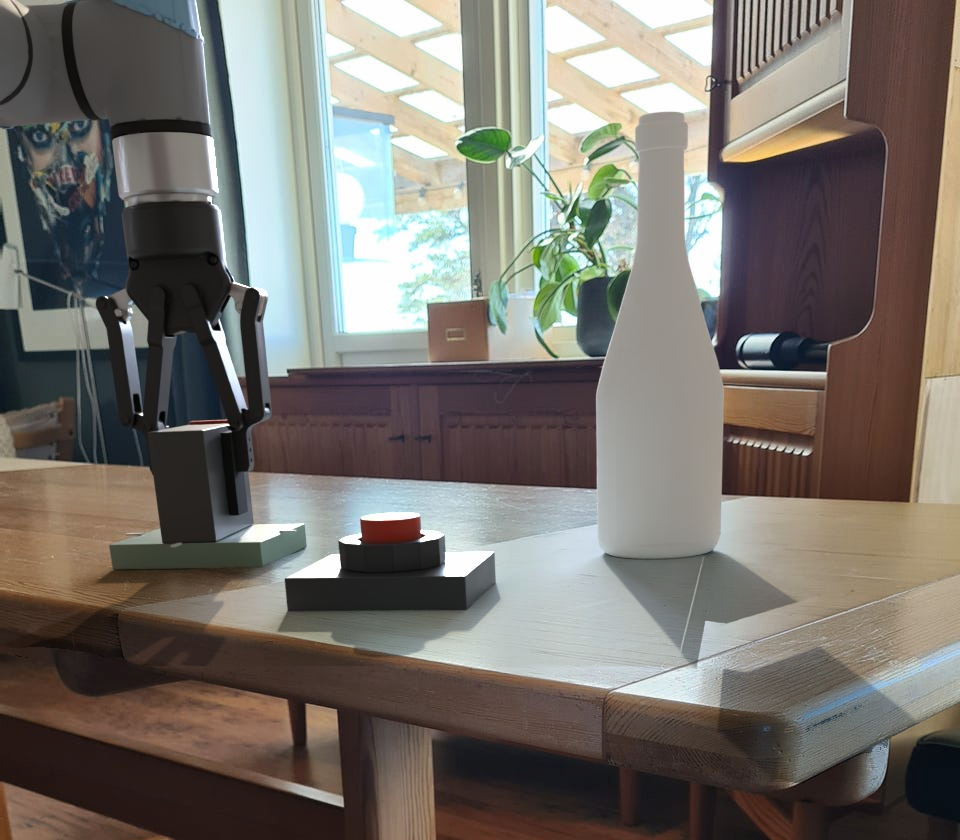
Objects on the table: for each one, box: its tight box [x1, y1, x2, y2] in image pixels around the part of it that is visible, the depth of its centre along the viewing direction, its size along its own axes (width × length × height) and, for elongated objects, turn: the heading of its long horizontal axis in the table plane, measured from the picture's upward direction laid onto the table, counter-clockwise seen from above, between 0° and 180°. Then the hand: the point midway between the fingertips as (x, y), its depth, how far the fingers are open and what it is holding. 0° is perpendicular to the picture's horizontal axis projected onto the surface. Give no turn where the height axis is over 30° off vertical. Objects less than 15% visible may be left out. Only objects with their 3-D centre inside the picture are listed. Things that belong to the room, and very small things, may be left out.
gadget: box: [148, 419, 255, 543], centre depth 106 cm, size 11×4×9 cm, turn 174°
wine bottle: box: [595, 111, 725, 560], centre depth 95 cm, size 10×10×30 cm
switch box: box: [284, 529, 497, 612], centre depth 86 cm, size 12×10×4 cm
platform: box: [108, 523, 308, 571], centre depth 108 cm, size 15×15×2 cm
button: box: [359, 512, 422, 542], centre depth 85 cm, size 4×4×2 cm
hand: (207, 513), depth 107 cm, fingers open, 5 cm apart
